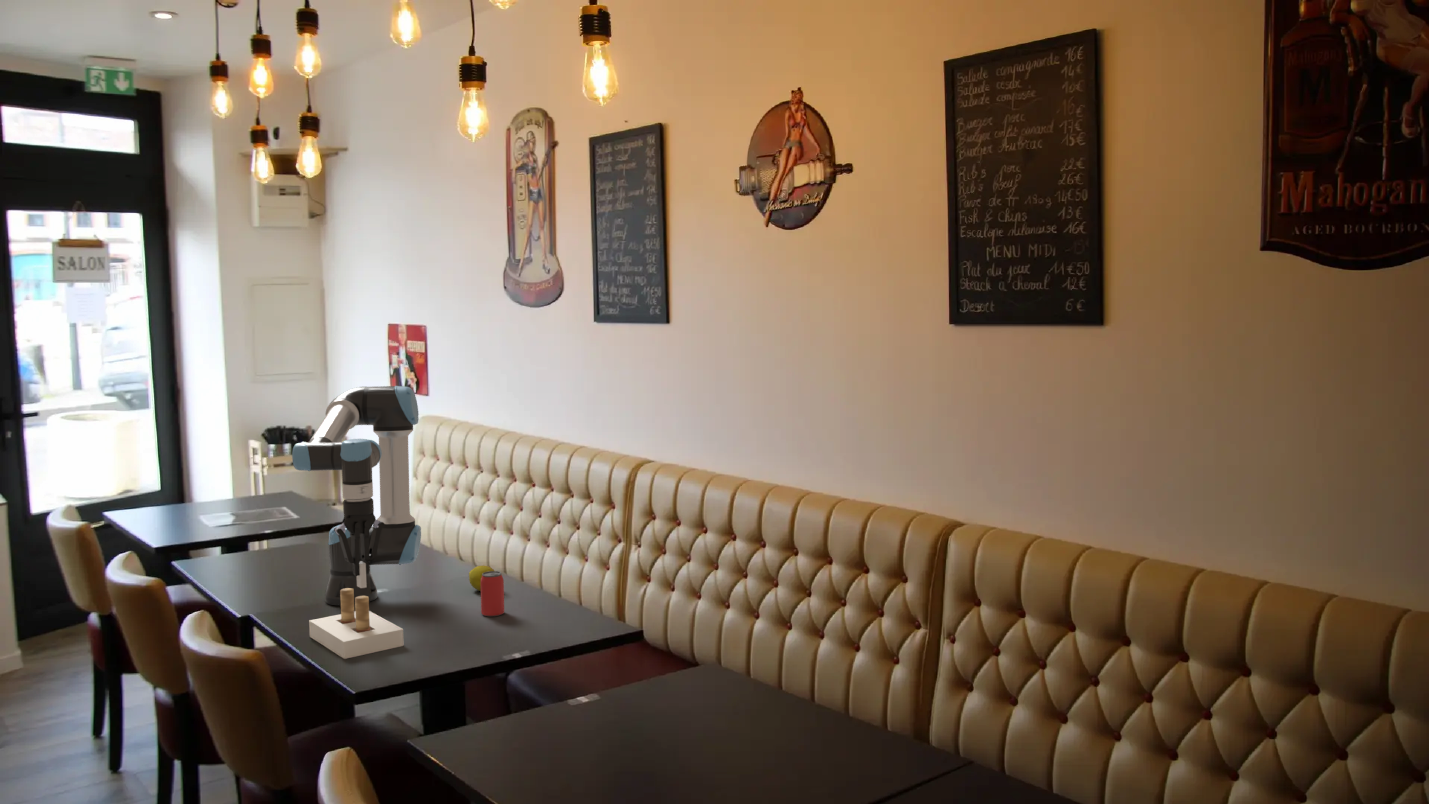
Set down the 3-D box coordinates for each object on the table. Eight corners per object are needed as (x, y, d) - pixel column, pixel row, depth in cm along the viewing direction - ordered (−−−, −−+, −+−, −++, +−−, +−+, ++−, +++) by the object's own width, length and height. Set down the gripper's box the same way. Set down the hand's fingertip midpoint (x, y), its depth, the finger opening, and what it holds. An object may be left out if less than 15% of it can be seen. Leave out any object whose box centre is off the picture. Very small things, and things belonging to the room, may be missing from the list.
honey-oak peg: (367, 642, 292) (365, 594, 291) (372, 645, 289) (371, 597, 288) (354, 645, 290) (352, 597, 288) (359, 648, 287) (357, 600, 286)
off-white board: (366, 624, 308) (366, 609, 307) (403, 645, 289) (403, 629, 289) (309, 636, 297) (309, 620, 297) (344, 659, 279) (343, 641, 279)
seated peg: (352, 633, 300) (350, 587, 298) (357, 636, 297) (356, 590, 296) (339, 636, 297) (337, 589, 296) (344, 639, 295) (342, 592, 293)
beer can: (499, 617, 314) (498, 576, 313) (477, 616, 315) (476, 575, 314) (507, 611, 320) (507, 571, 319) (486, 610, 321) (485, 570, 320)
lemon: (503, 592, 341) (502, 566, 340) (481, 596, 336) (480, 571, 335) (485, 585, 349) (485, 560, 348) (463, 589, 344) (463, 564, 343)
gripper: (339, 504, 279) (343, 594, 281) (388, 497, 287) (391, 585, 290) (327, 499, 284) (331, 588, 287) (376, 493, 293) (379, 579, 295)
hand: (361, 586), depth 288 cm, fingers closed
